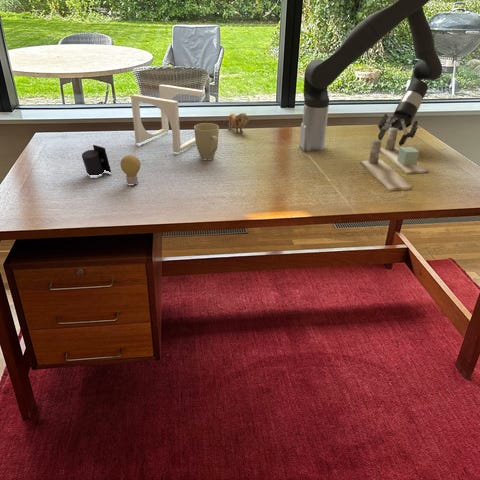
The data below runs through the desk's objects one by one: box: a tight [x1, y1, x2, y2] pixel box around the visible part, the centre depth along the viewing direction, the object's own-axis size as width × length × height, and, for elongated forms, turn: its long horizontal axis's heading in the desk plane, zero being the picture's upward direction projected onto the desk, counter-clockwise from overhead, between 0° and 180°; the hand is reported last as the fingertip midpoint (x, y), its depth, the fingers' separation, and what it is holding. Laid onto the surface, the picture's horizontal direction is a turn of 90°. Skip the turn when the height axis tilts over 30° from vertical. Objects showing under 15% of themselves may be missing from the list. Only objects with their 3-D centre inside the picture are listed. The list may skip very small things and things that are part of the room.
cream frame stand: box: [130, 84, 205, 153], centre depth 193 cm, size 20×20×20 cm
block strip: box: [380, 128, 429, 175], centre depth 179 cm, size 8×24×9 cm, turn 10°
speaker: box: [81, 144, 112, 175], centre depth 167 cm, size 8×6×10 cm
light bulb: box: [120, 154, 142, 185], centre depth 160 cm, size 6×6×10 cm
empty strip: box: [360, 139, 413, 192], centre depth 167 cm, size 8×24×9 cm, turn 10°
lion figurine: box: [225, 112, 250, 135], centre depth 210 cm, size 15×5×9 cm, turn 38°
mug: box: [193, 122, 220, 161], centre depth 180 cm, size 11×10×12 cm
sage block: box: [397, 146, 420, 166], centre depth 176 cm, size 5×5×5 cm
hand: (389, 142), depth 187 cm, fingers open, 8 cm apart
